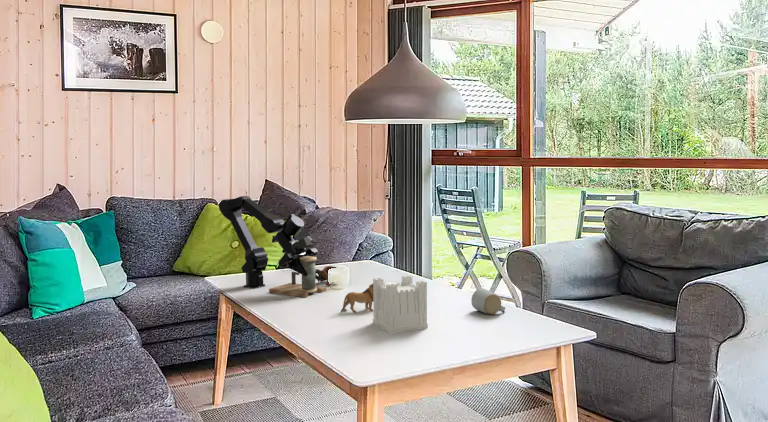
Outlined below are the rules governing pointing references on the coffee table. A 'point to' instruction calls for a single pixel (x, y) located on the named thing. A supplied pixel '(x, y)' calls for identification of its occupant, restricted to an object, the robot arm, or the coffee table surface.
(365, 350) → the coffee table surface
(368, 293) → the lion figurine
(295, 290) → the wooden plank structure
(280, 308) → the coffee table surface
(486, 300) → the ceramic mug
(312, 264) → the cord spool
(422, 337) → the coffee table surface
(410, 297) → the castle model
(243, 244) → the robot arm
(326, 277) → the winged dragon figurine
